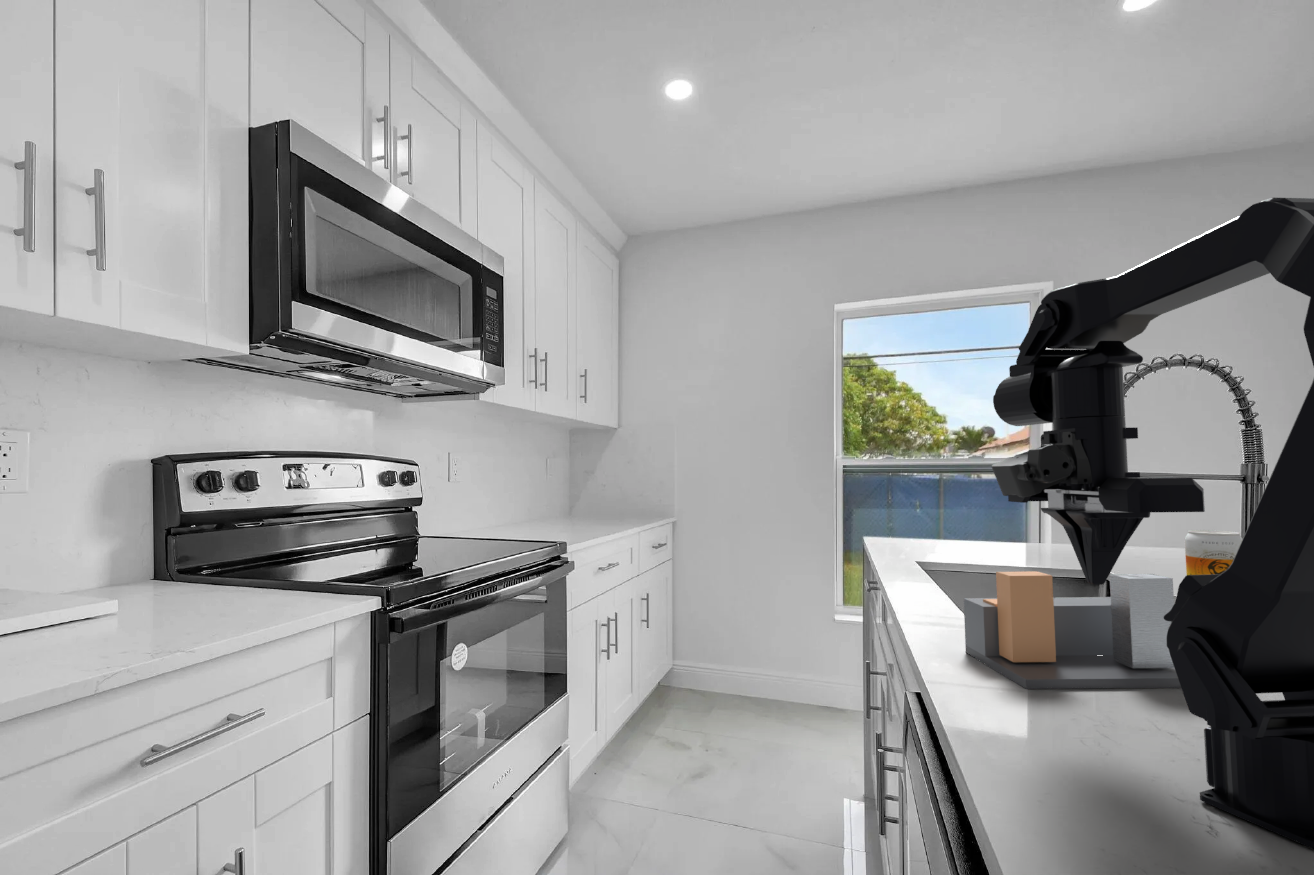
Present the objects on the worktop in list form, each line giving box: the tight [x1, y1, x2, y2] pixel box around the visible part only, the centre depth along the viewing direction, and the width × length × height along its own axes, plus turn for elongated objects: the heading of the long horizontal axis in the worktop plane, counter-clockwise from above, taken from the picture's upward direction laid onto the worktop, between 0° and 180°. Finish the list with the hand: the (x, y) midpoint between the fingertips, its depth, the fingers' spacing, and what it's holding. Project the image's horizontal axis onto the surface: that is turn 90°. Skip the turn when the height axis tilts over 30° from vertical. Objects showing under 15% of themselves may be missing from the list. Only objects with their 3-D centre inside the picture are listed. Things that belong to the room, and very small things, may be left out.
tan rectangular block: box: [995, 570, 1056, 662], centre depth 75 cm, size 3×5×10 cm, turn 89°
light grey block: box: [1109, 573, 1175, 668], centre depth 72 cm, size 3×5×10 cm, turn 89°
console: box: [963, 596, 1182, 690], centre depth 75 cm, size 14×20×7 cm
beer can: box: [1184, 529, 1243, 576], centre depth 85 cm, size 6×6×15 cm
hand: (1095, 583), depth 59 cm, fingers closed
